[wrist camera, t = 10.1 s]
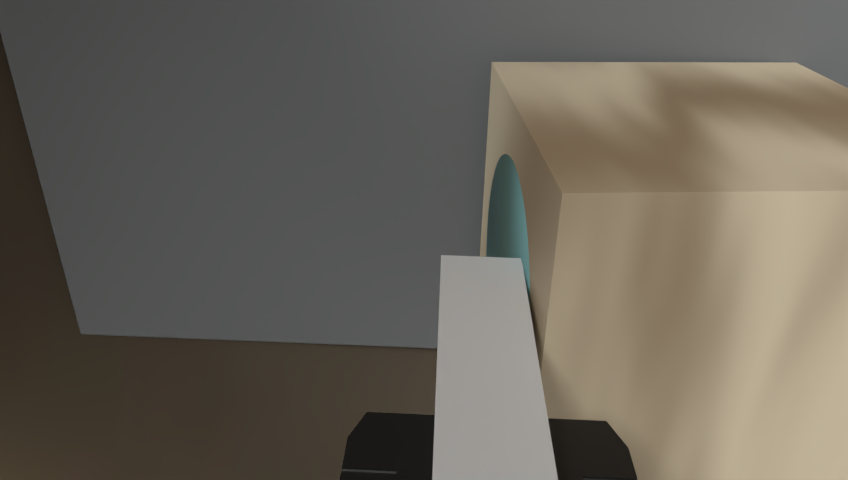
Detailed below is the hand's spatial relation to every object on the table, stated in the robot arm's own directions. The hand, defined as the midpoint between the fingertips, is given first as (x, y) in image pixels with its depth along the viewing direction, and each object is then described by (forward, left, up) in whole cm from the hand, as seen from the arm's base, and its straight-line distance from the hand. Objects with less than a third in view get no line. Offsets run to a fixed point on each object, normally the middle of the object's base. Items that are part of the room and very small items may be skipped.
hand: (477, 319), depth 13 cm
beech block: (+1, 0, -1) cm, 2 cm away
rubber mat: (+1, 0, -6) cm, 6 cm away
